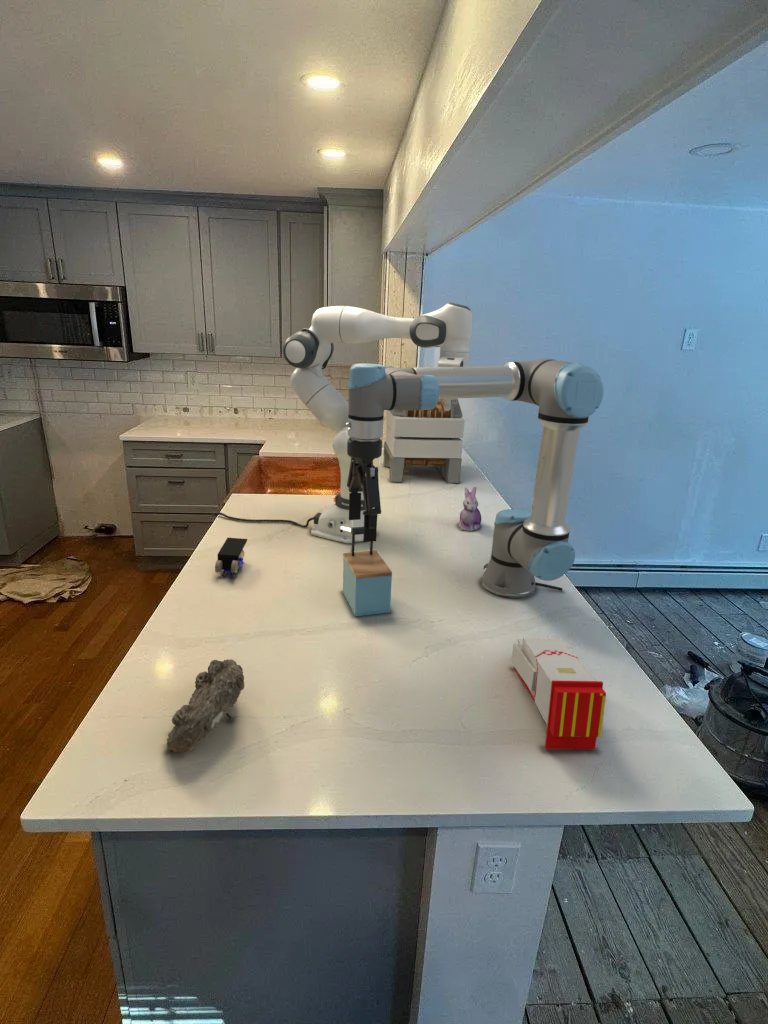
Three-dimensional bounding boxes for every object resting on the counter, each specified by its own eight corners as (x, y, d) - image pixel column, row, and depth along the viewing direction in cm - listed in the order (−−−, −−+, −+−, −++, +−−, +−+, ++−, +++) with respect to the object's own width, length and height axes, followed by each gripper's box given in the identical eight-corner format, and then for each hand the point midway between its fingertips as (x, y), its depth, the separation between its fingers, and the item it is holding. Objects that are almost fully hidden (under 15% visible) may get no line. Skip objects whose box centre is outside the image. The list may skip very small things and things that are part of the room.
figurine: (467, 533, 203) (471, 493, 198) (451, 523, 211) (454, 485, 206) (488, 529, 207) (492, 490, 202) (471, 520, 215) (475, 482, 210)
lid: (342, 555, 154) (343, 525, 151) (376, 553, 157) (377, 522, 154) (355, 578, 142) (356, 545, 139) (391, 575, 144) (393, 542, 141)
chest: (342, 591, 158) (343, 556, 154) (375, 588, 160) (376, 554, 157) (354, 616, 145) (355, 579, 142) (390, 612, 148) (391, 575, 144)
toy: (559, 621, 128) (615, 689, 99) (553, 675, 131) (607, 757, 102) (506, 620, 128) (547, 687, 99) (501, 674, 131) (540, 756, 101)
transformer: (382, 463, 289) (386, 382, 275) (445, 464, 293) (451, 384, 279) (390, 482, 257) (394, 392, 243) (460, 483, 261) (468, 394, 247)
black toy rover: (238, 584, 162) (249, 557, 175) (236, 562, 158) (247, 536, 172) (215, 584, 161) (227, 556, 175) (212, 561, 158) (225, 535, 171)
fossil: (192, 660, 117) (244, 628, 112) (224, 691, 120) (276, 661, 115) (142, 746, 98) (202, 712, 93) (182, 779, 101) (242, 748, 96)
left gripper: (450, 358, 179) (446, 402, 183) (436, 363, 160) (432, 412, 165) (470, 359, 177) (466, 404, 182) (458, 364, 159) (454, 414, 163)
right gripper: (335, 426, 132) (334, 512, 139) (362, 452, 110) (359, 553, 117) (366, 426, 134) (363, 510, 141) (399, 451, 112) (394, 550, 119)
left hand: (450, 408), depth 173 cm, fingers open, 8 cm apart
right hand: (361, 529), depth 129 cm, fingers open, 13 cm apart
